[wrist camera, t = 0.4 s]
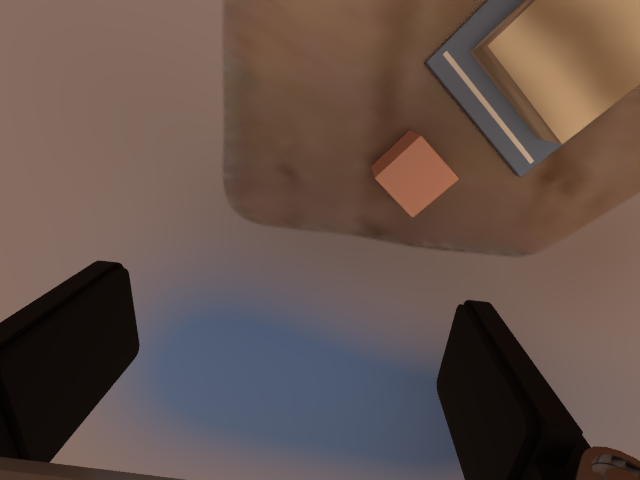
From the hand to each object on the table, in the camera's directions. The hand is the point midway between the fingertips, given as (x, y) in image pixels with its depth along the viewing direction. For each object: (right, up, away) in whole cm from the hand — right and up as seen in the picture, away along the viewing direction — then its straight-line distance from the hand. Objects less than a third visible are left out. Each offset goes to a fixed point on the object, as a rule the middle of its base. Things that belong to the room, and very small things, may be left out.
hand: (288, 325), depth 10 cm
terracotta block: (+10, +10, +24) cm, 28 cm away
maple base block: (+21, +18, +19) cm, 33 cm away
